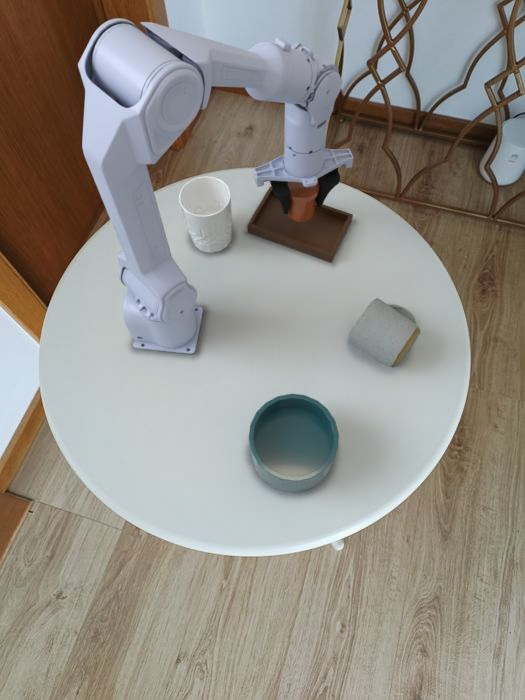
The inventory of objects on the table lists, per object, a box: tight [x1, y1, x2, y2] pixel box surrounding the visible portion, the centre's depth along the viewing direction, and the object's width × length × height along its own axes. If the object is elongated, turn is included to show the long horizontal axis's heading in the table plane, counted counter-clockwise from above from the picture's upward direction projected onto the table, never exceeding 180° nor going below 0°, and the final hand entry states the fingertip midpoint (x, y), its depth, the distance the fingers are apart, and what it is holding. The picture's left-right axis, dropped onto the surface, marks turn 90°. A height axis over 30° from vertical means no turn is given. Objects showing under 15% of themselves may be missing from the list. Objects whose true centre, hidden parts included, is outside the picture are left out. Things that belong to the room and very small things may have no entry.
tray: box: [246, 185, 354, 264], centre depth 89 cm, size 15×9×2 cm, turn 65°
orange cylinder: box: [288, 179, 320, 222], centre depth 84 cm, size 5×5×6 cm
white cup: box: [178, 175, 233, 254], centre depth 85 cm, size 8×8×10 cm
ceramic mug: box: [347, 297, 421, 368], centre depth 78 cm, size 11×8×8 cm
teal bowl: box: [248, 393, 340, 493], centre depth 70 cm, size 11×11×8 cm
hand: (301, 205), depth 86 cm, fingers closed on orange cylinder, 5 cm apart
